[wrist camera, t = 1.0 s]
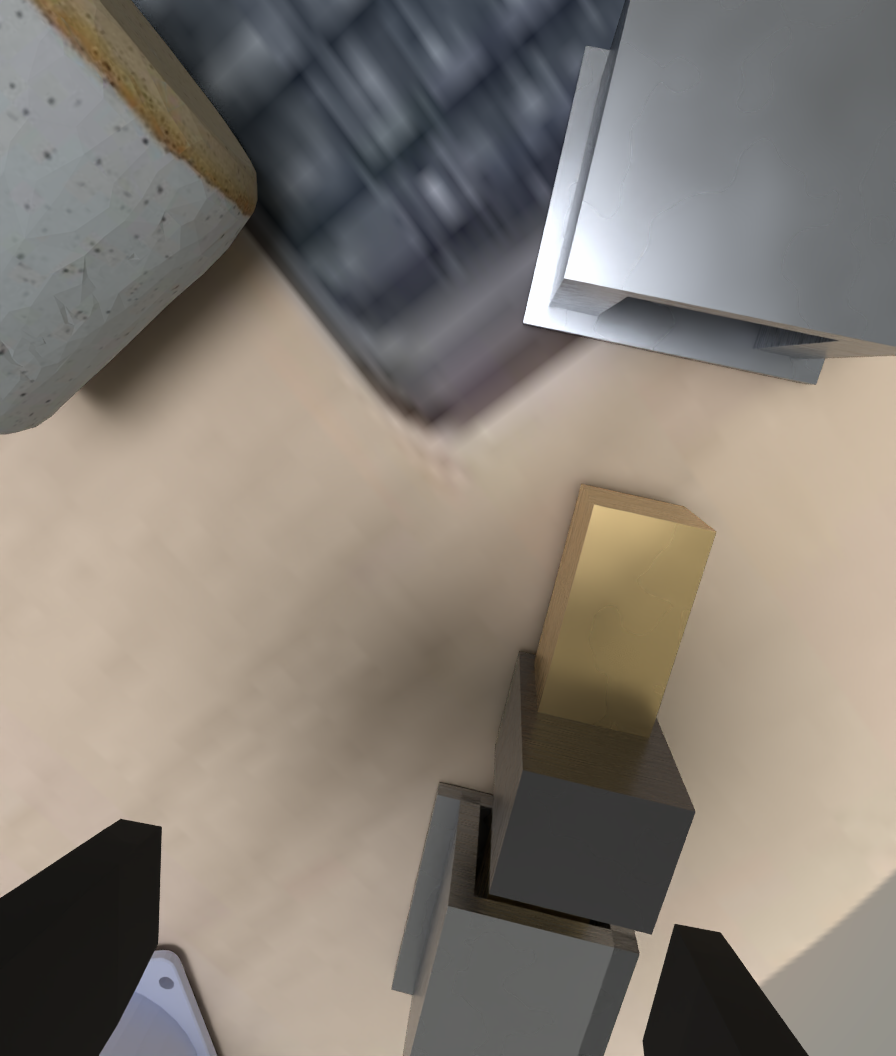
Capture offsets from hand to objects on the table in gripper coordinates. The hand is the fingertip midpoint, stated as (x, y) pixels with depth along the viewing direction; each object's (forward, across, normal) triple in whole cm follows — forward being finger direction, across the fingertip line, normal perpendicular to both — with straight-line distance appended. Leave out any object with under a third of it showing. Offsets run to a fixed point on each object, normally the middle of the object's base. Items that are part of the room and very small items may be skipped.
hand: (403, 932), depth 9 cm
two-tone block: (+9, -3, +3) cm, 10 cm away
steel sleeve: (+10, -3, +9) cm, 13 cm away
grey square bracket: (+10, -4, -12) cm, 16 cm away
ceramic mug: (+10, +12, -11) cm, 19 cm away
